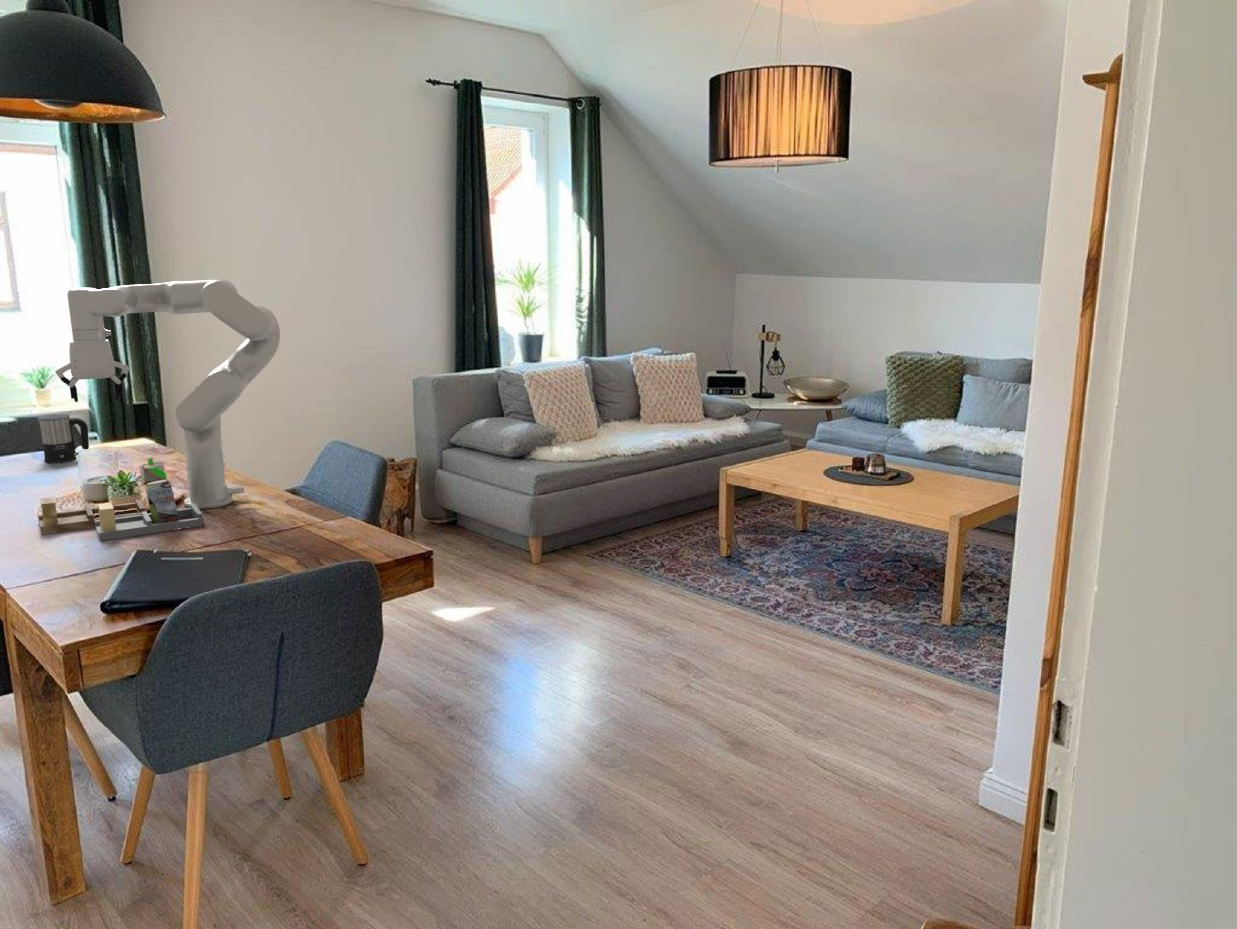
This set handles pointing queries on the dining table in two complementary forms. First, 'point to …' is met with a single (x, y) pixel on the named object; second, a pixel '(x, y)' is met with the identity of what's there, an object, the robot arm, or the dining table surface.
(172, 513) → the grey printed packet
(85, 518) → the plank with end posts
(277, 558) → the dining table surface
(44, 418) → the milk frother
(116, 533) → the grey divided tray
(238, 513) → the dining table surface
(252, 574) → the dining table surface
